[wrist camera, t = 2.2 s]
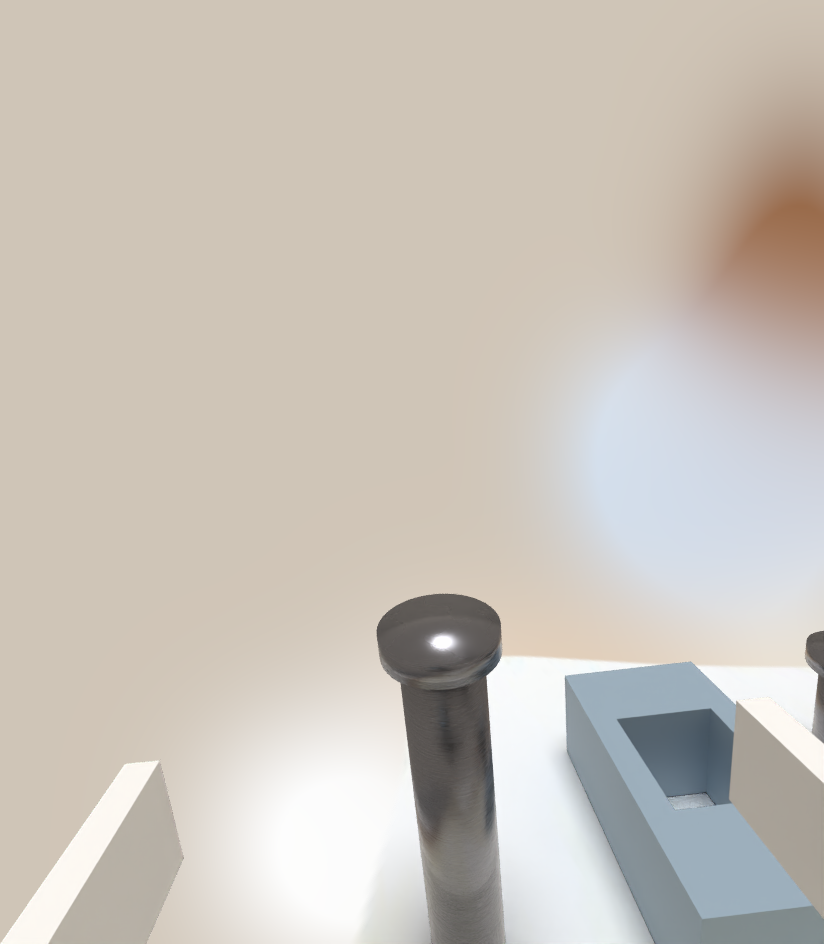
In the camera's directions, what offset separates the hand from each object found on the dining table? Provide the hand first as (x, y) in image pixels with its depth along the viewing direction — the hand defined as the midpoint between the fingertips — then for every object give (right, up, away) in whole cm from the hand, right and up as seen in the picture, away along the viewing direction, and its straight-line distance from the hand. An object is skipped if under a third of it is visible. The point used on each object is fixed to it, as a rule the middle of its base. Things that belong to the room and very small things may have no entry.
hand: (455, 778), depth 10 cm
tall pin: (+2, -19, +14) cm, 24 cm away
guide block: (+17, -17, +19) cm, 30 cm away
